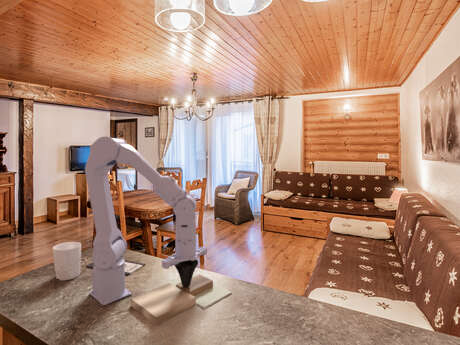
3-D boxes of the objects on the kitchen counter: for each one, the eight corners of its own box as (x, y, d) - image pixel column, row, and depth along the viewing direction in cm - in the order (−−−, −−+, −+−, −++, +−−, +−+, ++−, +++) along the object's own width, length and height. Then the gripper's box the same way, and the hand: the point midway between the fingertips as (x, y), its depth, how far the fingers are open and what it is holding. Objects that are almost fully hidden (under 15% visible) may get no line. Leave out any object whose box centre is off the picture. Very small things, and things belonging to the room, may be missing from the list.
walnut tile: (175, 291, 79) (175, 284, 79) (199, 280, 86) (199, 274, 86) (189, 298, 75) (189, 291, 75) (212, 287, 82) (212, 280, 82)
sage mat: (163, 285, 83) (163, 284, 83) (190, 274, 91) (190, 273, 91) (204, 308, 71) (204, 307, 71) (231, 293, 79) (231, 292, 79)
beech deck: (130, 305, 72) (130, 298, 72) (169, 289, 81) (168, 282, 81) (156, 325, 64) (156, 317, 64) (195, 304, 73) (195, 297, 73)
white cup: (75, 268, 95) (74, 240, 94) (86, 274, 90) (85, 244, 89) (49, 276, 88) (48, 246, 88) (60, 284, 84) (59, 251, 83)
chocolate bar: (105, 256, 104) (145, 263, 98) (105, 259, 104) (145, 266, 98) (85, 265, 96) (127, 274, 90) (85, 268, 96) (127, 277, 90)
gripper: (173, 248, 69) (173, 300, 70) (214, 235, 80) (214, 281, 81) (157, 242, 74) (157, 291, 75) (198, 230, 85) (198, 273, 86)
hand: (185, 285), depth 78 cm, fingers closed
